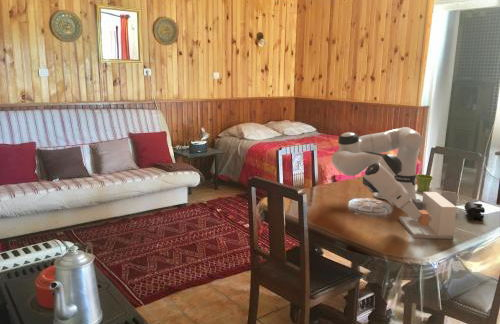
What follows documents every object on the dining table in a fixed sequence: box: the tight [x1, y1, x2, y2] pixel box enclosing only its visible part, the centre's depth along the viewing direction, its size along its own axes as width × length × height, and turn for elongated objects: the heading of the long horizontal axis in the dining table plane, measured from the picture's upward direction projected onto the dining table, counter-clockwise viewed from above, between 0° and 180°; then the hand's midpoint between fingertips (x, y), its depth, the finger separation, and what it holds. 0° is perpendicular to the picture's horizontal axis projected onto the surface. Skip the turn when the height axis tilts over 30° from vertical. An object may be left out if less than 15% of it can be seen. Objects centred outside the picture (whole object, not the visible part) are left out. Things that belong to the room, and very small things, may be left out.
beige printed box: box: [441, 190, 458, 207], centre depth 208 cm, size 4×7×10 cm, turn 56°
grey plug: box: [412, 198, 425, 210], centre depth 190 cm, size 4×5×5 cm
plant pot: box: [416, 173, 434, 193], centre depth 244 cm, size 9×9×9 cm
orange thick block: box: [417, 210, 432, 225], centre depth 175 cm, size 4×5×5 cm
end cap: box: [464, 200, 486, 222], centre depth 199 cm, size 10×7×7 cm
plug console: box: [398, 191, 458, 240], centre depth 183 cm, size 16×22×14 cm
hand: (418, 217), depth 175 cm, fingers closed, pressing on orange thick block
